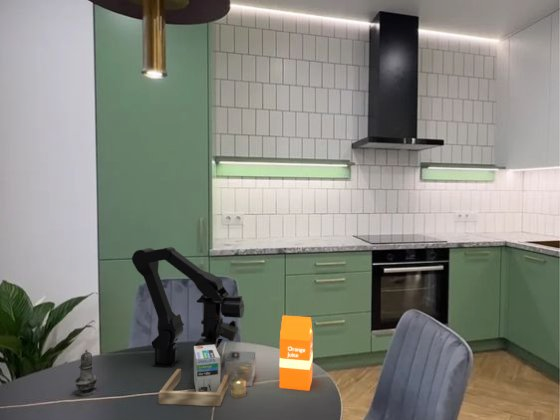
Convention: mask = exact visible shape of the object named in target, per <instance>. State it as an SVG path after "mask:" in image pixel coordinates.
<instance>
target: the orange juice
mask: <svg viewBox="0 0 560 420" xmlns="http://www.w3.org/2000/svg"><path fill="white" fill-rule="evenodd" d="M281 319H282V320H281V326H280V334H279V336H280V337H279V388H280V389H289V390H290V389H291V390H299V391H310V389H311V385H312V380H313V357H314V356H313V342H314V341H313V340H314V339H313V327H312V326H313V324H312V317H310V316H297V315H296V316H295V315H282V317H281Z"/></svg>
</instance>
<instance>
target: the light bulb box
mask: <svg viewBox="0 0 560 420" xmlns="http://www.w3.org/2000/svg"><path fill="white" fill-rule="evenodd" d="M193 383H194V387H195V392H215V393H216V392H217V390H218V388H219V386H220V384H221V355H220V353H219V352H218V347H217V348H216V345H215V344H214V345H203V346H193Z"/></svg>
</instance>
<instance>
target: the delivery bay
mask: <svg viewBox="0 0 560 420" xmlns="http://www.w3.org/2000/svg"><path fill="white" fill-rule="evenodd" d="M181 380H182V369H181V368H177V369H176V370H175V371H174V373H173V374H172V375H171V376H170V377H169V379H168V380H167V381H166V382H165V384H164V385H163V386H162V388H161V389H160V391H159V392H158V404H159V405H180V406H182V405H183V406H206V407H220V406H221V404H222V401H223V400H224V397H225V394H226V393H227V390H228V388H229V386H230V385H229V375H225V374H224V376H223V377H222V380H221V381H220V386H219V388H218V390H217V392H216V393H215V392H196V391H190V390H189V391H185V390H183V391H182V390H174V389H175V388H176V387H177V385H178V384H179V383H180V381H181Z"/></svg>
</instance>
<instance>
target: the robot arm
mask: <svg viewBox="0 0 560 420" xmlns="http://www.w3.org/2000/svg"><path fill="white" fill-rule="evenodd" d="M159 261H166V262H167V263H169V264H170V265H171V266H173V267H174V268H175V269H177V270H178V271H179V272H180V273H182V274H183V275H185V276H186V277H187V278H188V279H189V280H191V281H192V283H194V285H195V287H196V289H197V290H199V292H200V293H201V296H200V297H199V298H198V299H197V300H196V303H200V304H202V305H203V306H202V319H201V322H200V323H201V325H202V332H201V334H200V337H201V338H199V339H198V340H197V341H196V342H195V343H194V346H203V345H214V344H215V345H216V348H217V349H218V347H219V346H220V345H221V343H222V341H223V340H224V338H225V339H227V340H228V341H230V342H233V341H234V340H235V338H236V336H237V334H238V331H239V326H237V325H238V324H237V321H235V320H231V321H230V322H229V323H228V322H224V318H223V317H225V318H235V319H237V318H240V319H243V316H244V313H245V304H244V300H243V296H242V295H237V296H235V295H233V296H232V295H230V294H229V292H228V291H227V289H226V288H225V287H224V285H223V281H222V278H220V277H219V276H217V275H215V274H213V273H211V272H208V271H205V270H203V269H201V268H200V267H198V266H197V265H196V264H194V263H193V262H192V261H191V260H189V259H188V258H186V256H184V255H183V254H181V253H180V252H178V250H176V248H174V247H173V246H169V247H163V248H159V249H153V248H152V247H147V248H143V249H142V248H141V249H137V250H136V251H134V253H133V254H132V256H131V262H132V264H133V266H134V267H135V269H136V271H137V272H138V273H139V274H140V275H141V277H143V280H144V282H145V285H146V288H147V289H148V293H149V296H150V298H151V302H152V304H153V307H154V311H155V313H156V315H157V326H156V327H157V329H156V330H157V334H158V335H157V336H156V337H155V338H154V339H153V340H152V341H151V345H152V346H151V347H152V349H154V362H153V363H152V367H163V368H164V367H166V368H169V367H170V368H171V367H173V365H175V364H176V362H177V361H178V359H179V357H178V356H179V354H178V350H179V348H178V347H177V343H176V342H178V339H179V337H181V335H182V334H183V332H184V325H185V323H184V322H183V321H182V317H181V315H180V313H179V314H177V315H176V314H175V313H174V312H173V310H172V308H171V305H170V303H169V299H168V296H167V294H166V290H165V288H164V286H163V285H164V284H163V282H162V279H161V277H160V274H159V263H160V262H159ZM222 316H223V317H222ZM221 337H222V338H221ZM194 346H193V347H194Z"/></svg>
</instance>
